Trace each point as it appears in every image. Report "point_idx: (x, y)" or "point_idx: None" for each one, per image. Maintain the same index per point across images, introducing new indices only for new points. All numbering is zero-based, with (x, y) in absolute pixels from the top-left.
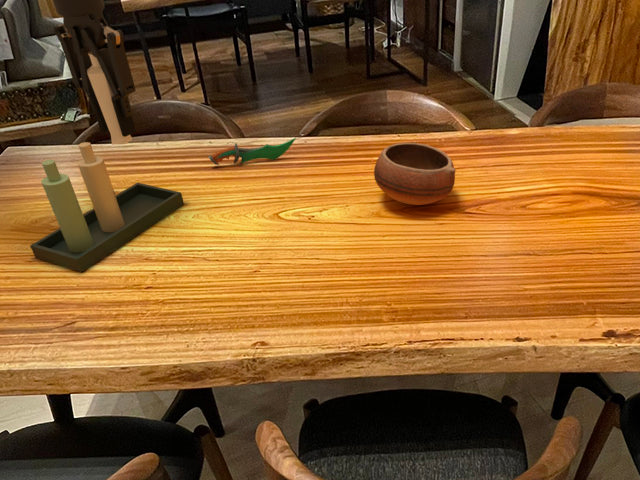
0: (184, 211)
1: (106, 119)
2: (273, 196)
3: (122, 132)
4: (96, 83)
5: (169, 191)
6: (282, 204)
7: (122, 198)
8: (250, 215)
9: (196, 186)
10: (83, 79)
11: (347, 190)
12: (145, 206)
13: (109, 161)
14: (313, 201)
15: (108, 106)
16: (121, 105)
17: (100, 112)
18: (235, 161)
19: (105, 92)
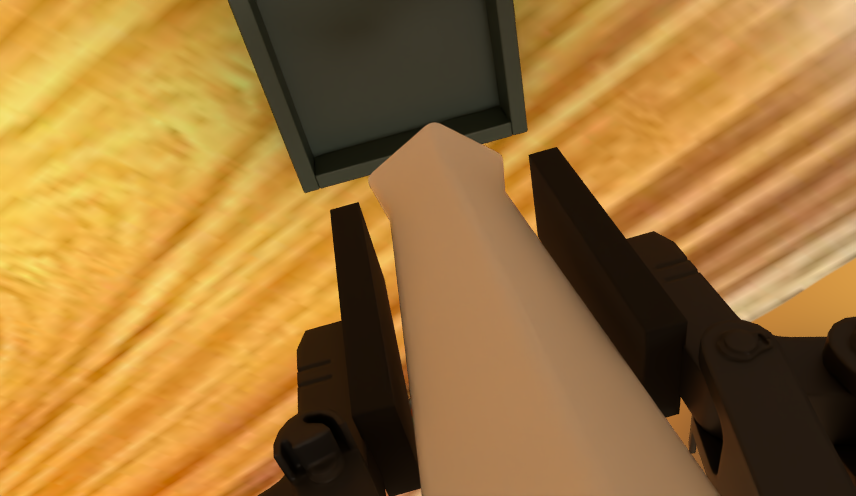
0: (249, 138)
1: (464, 226)
2: (126, 367)
3: (350, 220)
4: (528, 493)
5: (348, 169)
6: (49, 360)
7: (492, 20)
8: (39, 266)
9: (391, 259)
10: (799, 446)
11: (11, 492)
12: (388, 56)
13: (810, 173)
14: (3, 418)
15: (437, 326)
16: (331, 395)
17: (581, 252)
18: (410, 399)
19: (448, 437)
